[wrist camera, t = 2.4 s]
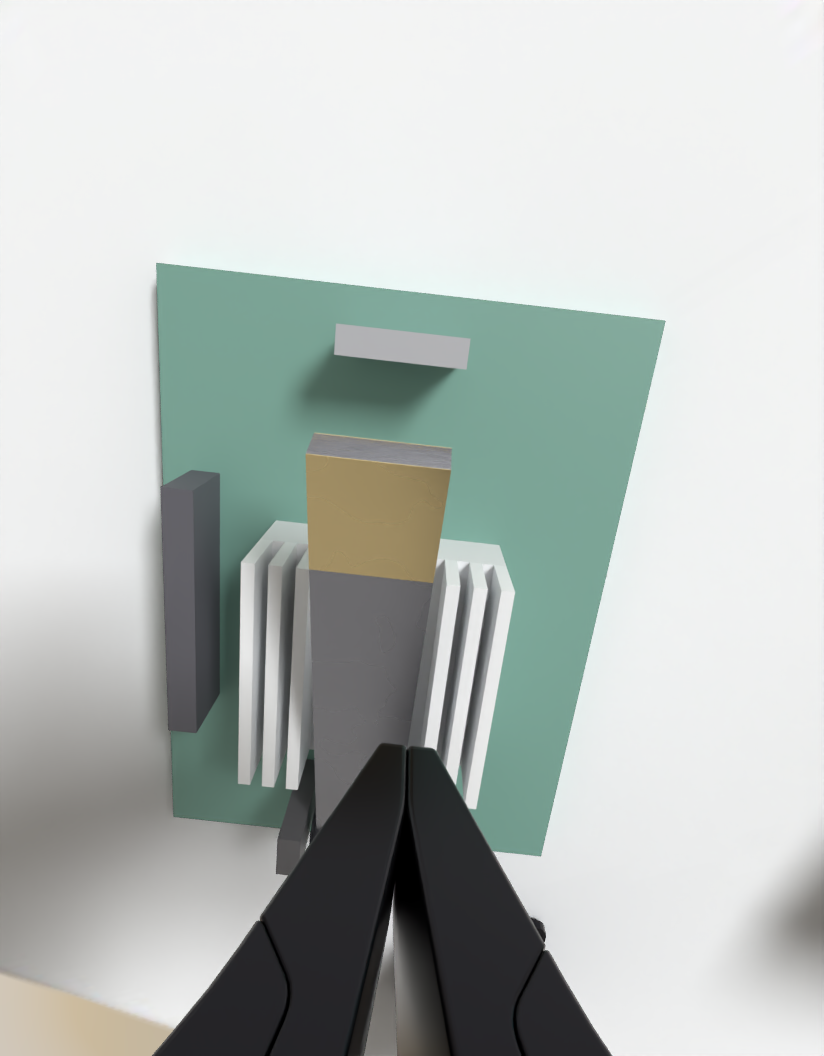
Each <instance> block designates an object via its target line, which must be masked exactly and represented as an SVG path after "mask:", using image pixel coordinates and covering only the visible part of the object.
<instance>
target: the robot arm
mask: <svg viewBox="0 0 824 1056" xmlns="http://www.w3.org/2000/svg"><path fill="white" fill-rule="evenodd" d="M392 900H393V943H394V973H395V1002H396V1031H397V1056H612V1055H611V1053H610V1052H609V1050H608V1049H607V1047H606V1046H605V1044H604V1043H603V1041H602V1040H601V1038H600V1037H599V1035H598V1034H597V1032H596V1031H595V1029H594V1028H593V1026H592V1024H591V1023H590V1021H589V1019H588V1018H587V1016H586V1014H585V1013H584V1011H583V1009H582V1007H581V1006H580V1004H579V1002H578V1001H577V999H576V997H575V996H574V994H573V992H572V991H571V989H570V987H569V986H568V984H567V982H566V981H565V979H564V977H563V975H562V973H561V972H560V970H559V968H558V966H557V964H556V963H555V961H554V959H553V957H552V955H551V954H550V952H549V951H548V950H545V944H544V942H545V938H546V933H545V928H544V925H543V923H542V922H540V921H538V920H532V919H530V917H529V915H528V913H527V912H526V910H525V908H524V906H523V904H522V903H521V901H520V899H519V897H518V895H517V894H516V892H515V890H514V888H513V887H512V885H511V883H510V881H509V879H508V878H507V876H506V874H505V872H504V871H503V869H502V867H501V865H500V863H499V862H498V860H497V858H496V856H495V855H494V853H493V851H492V849H491V847H490V846H489V844H488V842H487V840H486V839H485V837H484V835H483V833H482V831H481V830H480V828H479V826H478V824H477V823H476V821H475V819H474V817H473V815H472V814H471V812H470V810H469V808H468V807H467V805H466V803H465V801H464V799H463V798H462V796H461V794H460V792H459V791H458V789H457V787H456V785H455V783H454V782H453V780H452V778H451V776H450V775H449V773H448V771H447V769H446V767H445V766H444V764H443V762H442V760H441V759H440V757H439V755H438V753H437V752H436V750H435V749H433V748H429V747H420V746H410V747H409V748H408V749H407V748H406V746H405V745H401V744H392V743H381V744H379V745H378V747H377V748H376V749H375V751H374V752H373V754H372V755H371V757H370V758H369V760H368V761H367V762H366V764H365V765H364V767H363V768H362V770H361V771H360V773H359V774H358V775H357V777H356V778H355V780H354V781H353V783H352V784H351V786H350V787H349V788H348V790H347V791H346V793H345V794H344V796H343V797H342V799H341V800H340V801H339V803H338V804H337V806H336V807H335V809H334V810H333V812H332V813H331V815H330V816H329V817H328V819H327V820H326V822H325V823H324V825H323V826H322V828H321V829H320V830H319V832H318V833H317V835H316V836H315V838H314V839H313V841H312V842H311V843H310V845H309V846H308V848H307V849H306V851H305V852H304V854H303V855H302V856H301V858H300V859H299V861H298V862H297V864H296V865H295V867H294V868H293V869H292V871H291V872H290V874H289V875H288V877H287V878H286V880H285V881H284V882H283V884H282V885H281V887H280V888H279V890H278V891H277V893H276V894H275V895H274V897H273V898H272V900H271V901H270V903H269V904H268V906H267V907H266V908H265V910H264V911H263V913H262V914H261V916H260V921H256V922H255V924H254V925H253V927H252V928H251V930H250V931H249V933H248V934H247V935H246V937H245V938H244V940H243V941H242V943H241V944H240V946H239V947H238V948H237V950H236V951H235V952H234V954H233V955H232V957H231V958H230V959H229V961H228V962H227V963H226V965H225V966H224V967H223V969H222V970H221V971H220V973H219V974H218V976H217V977H216V978H215V980H214V981H213V982H212V984H211V985H210V986H209V988H208V989H207V990H206V991H205V993H204V994H203V995H202V996H201V998H200V999H199V1000H198V1001H197V1002H196V1004H195V1005H194V1006H193V1007H192V1008H191V1010H190V1011H189V1012H188V1013H187V1015H186V1016H185V1017H184V1018H183V1019H182V1021H181V1022H180V1023H179V1024H178V1025H177V1027H176V1028H175V1029H174V1030H173V1032H172V1033H171V1034H170V1035H169V1036H168V1037H167V1039H166V1040H165V1041H164V1042H163V1043H162V1045H161V1046H160V1047H159V1048H158V1049H157V1050H156V1052H155V1053H154V1054H153V1055H152V1056H364V1051H365V1046H366V1041H367V1036H368V1031H369V1025H370V1020H371V1015H372V1010H373V1004H374V999H375V994H376V989H377V983H378V978H379V973H380V968H381V962H382V957H383V952H384V947H385V942H386V936H387V931H388V926H389V919H390V913H391V907H392Z"/></svg>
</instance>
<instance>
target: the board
mask: <svg viewBox="0 0 824 1056" xmlns="http://www.w3.org/2000/svg"><path fill="white" fill-rule="evenodd" d="M156 270H157V302H158V334H159V366H160V398H161V430H162V462H163V486H161V513H162V544H163V575H164V605H165V636H166V666H167V697H168V727H169V730H170V731H171V750H172V782H173V814H174V817H180V818H189V819H199V820H208V821H217V822H227V823H236V824H245V825H255V826H264V827H273V828H281V829H280V833H279V836H278V841H277V864H276V874H283V875H289V874H290V872H291V871H292V869H293V868H294V867H295V865H296V864H297V862H298V861H299V859H300V858H301V856H302V855H303V854H304V852H305V848H306V843H307V839H308V835H309V831H310V832H311V826H312V820H313V815H314V810H315V807H316V796H315V761H314V726H313V691H312V656H311V622H310V587H309V559H308V524H307V490H306V455H305V454H306V451H307V449H308V447H309V444H310V442H311V439H312V437H313V434H314V433H322V434H331V435H340V436H349V437H358V438H367V439H376V440H385V441H394V442H403V443H412V444H421V445H430V446H438V447H447V448H452V454H451V475H450V481H449V487H448V494H447V500H446V506H445V513H444V519H443V525H442V532H441V538H440V544H439V551H438V557H437V563H436V570H435V576H434V582H433V588H432V594H431V601H430V607H429V613H428V620H427V626H426V632H425V639H424V645H423V651H422V658H421V664H420V670H419V677H418V683H417V689H416V696H415V702H414V708H413V715H412V721H411V727H410V734H409V740H408V746H407V749H408V748H409V747H410V746H420V747H429V748H433V749H435V750H436V752H437V753H438V755H439V757H440V759H441V760H442V762H443V764H444V766H445V767H446V769H447V771H448V773H449V775H450V776H451V778H452V780H453V782H454V783H455V785H456V787H457V789H458V791H459V792H460V794H461V796H462V798H463V799H464V801H465V803H466V805H467V807H468V808H469V810H470V812H471V814H472V815H473V817H474V819H475V821H476V823H477V824H478V826H479V828H480V830H481V831H482V833H483V835H484V837H485V839H486V840H487V842H488V844H489V846H490V847H491V849H492V851H497V852H506V853H515V854H525V855H534V856H541V853H542V849H543V845H544V840H545V836H546V832H547V828H548V823H549V819H550V815H551V810H552V806H553V802H554V798H555V793H556V789H557V785H558V780H559V776H560V772H561V768H562V763H563V759H564V755H565V750H566V746H567V742H568V737H569V733H570V729H571V725H572V720H573V716H574V712H575V707H576V703H577V699H578V695H579V690H580V686H581V682H582V677H583V673H584V669H585V665H586V660H587V656H588V652H589V647H590V643H591V639H592V635H593V630H594V626H595V622H596V617H597V613H598V609H599V604H600V600H601V596H602V592H603V587H604V583H605V579H606V574H607V570H608V566H609V562H610V557H611V553H612V549H613V544H614V540H615V536H616V532H617V527H618V523H619V519H620V514H621V510H622V506H623V501H624V497H625V493H626V489H627V484H628V480H629V476H630V471H631V467H632V463H633V459H634V454H635V450H636V446H637V441H638V437H639V433H640V429H641V424H642V420H643V416H644V411H645V407H646V403H647V398H648V394H649V390H650V386H651V381H652V377H653V373H654V368H655V364H656V360H657V356H658V351H659V347H660V343H661V338H662V334H663V330H664V326H665V321H664V320H655V319H646V318H637V317H629V316H620V315H611V314H602V313H594V312H585V311H576V310H567V309H558V308H550V307H541V306H532V305H523V304H514V303H506V302H497V301H488V300H479V299H470V298H462V297H453V296H444V295H435V294H426V293H418V292H409V291H400V290H391V289H382V288H374V287H365V286H356V285H347V284H338V283H330V282H321V281H312V280H303V279H294V278H286V277H277V276H268V275H259V274H250V273H242V272H233V271H224V270H215V269H207V268H198V267H189V266H180V265H171V264H163V263H156Z"/></svg>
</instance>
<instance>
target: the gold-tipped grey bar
mask: <svg viewBox="0 0 824 1056" xmlns="http://www.w3.org/2000/svg"><path fill="white" fill-rule="evenodd" d="M451 454H452V448H447V447H438V446H430V445H421V444H412V443H403V442H394V441H385V440H376V439H367V438H358V437H349V436H340V435H331V434H322V433H314V434H313V437H312V439H311V442H310V444H309V447H308V449H307V451H306V454H305V455H306V490H307V524H308V559H309V587H310V622H311V656H312V691H313V726H314V761H315V796H316V807H315V810H314V815H313V820H312V826H311V833H310V843H311V842H312V841H313V839H314V838H315V836H316V835H317V833H318V832H319V830H320V829H321V828H322V826H323V825H324V823H325V822H326V820H327V819H328V817H329V816H330V815H331V813H332V812H333V810H334V809H335V807H336V806H337V804H338V803H339V801H340V800H341V799H342V797H343V796H344V794H345V793H346V791H347V790H348V788H349V787H350V786H351V784H352V783H353V781H354V780H355V778H356V777H357V775H358V774H359V773H360V771H361V770H362V768H363V767H364V765H365V764H366V762H367V761H368V760H369V758H370V757H371V755H372V754H373V752H374V751H375V749H376V748H377V747H378V745H379V744H381V743H392V744H401V745H405V746H406V748H407V746H408V740H409V734H410V727H411V721H412V715H413V708H414V702H415V696H416V689H417V683H418V677H419V670H420V664H421V658H422V651H423V645H424V639H425V632H426V626H427V620H428V613H429V607H430V601H431V594H432V588H433V582H434V576H435V570H436V563H437V557H438V551H439V544H440V538H441V532H442V525H443V519H444V513H445V506H446V500H447V494H448V487H449V481H450V475H451Z"/></svg>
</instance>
